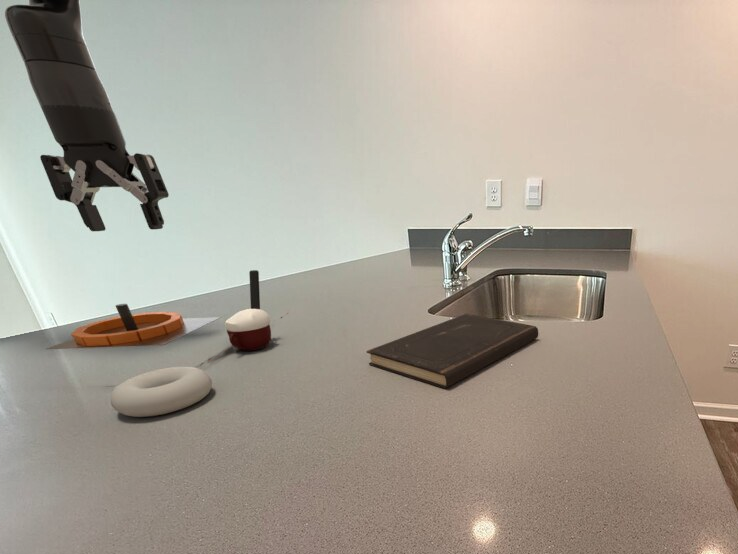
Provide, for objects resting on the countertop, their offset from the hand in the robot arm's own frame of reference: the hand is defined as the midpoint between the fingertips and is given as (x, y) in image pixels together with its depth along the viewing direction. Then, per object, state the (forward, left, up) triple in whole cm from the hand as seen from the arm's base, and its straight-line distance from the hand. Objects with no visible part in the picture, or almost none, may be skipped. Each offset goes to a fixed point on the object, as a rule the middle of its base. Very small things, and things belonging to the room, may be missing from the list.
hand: (127, 230), depth 64 cm
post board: (-7, +3, -19) cm, 20 cm away
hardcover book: (+51, -10, -19) cm, 56 cm away
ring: (-9, +3, -17) cm, 20 cm away
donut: (+15, -24, -19) cm, 34 cm away
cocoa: (+16, -4, -19) cm, 25 cm away
